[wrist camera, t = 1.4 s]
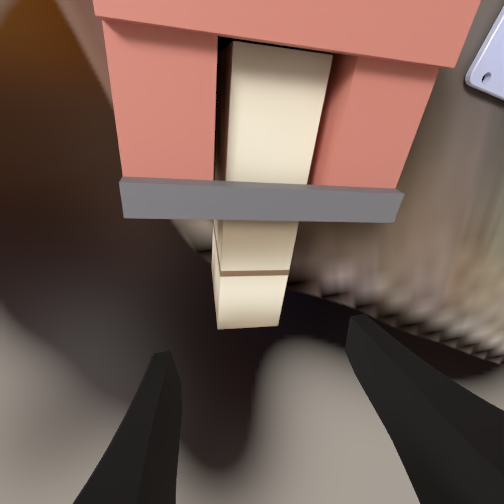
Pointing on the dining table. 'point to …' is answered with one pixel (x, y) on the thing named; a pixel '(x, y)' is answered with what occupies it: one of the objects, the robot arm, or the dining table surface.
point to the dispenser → (332, 116)
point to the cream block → (262, 170)
